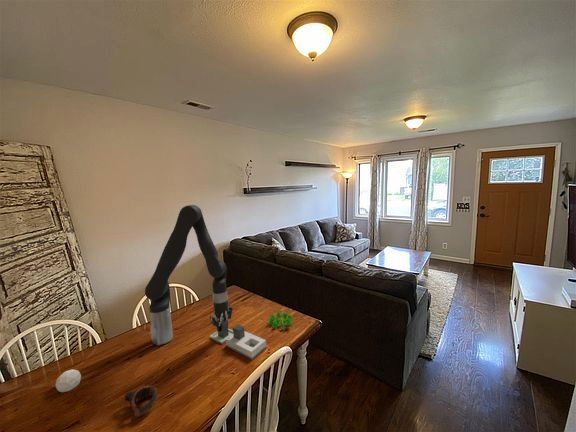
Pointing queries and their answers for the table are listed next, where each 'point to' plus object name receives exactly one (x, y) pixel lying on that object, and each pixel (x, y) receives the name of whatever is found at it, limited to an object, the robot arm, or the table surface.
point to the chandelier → (280, 319)
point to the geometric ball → (68, 380)
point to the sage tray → (220, 339)
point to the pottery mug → (139, 395)
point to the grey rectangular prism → (223, 329)
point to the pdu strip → (245, 342)
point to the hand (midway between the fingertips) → (222, 329)
